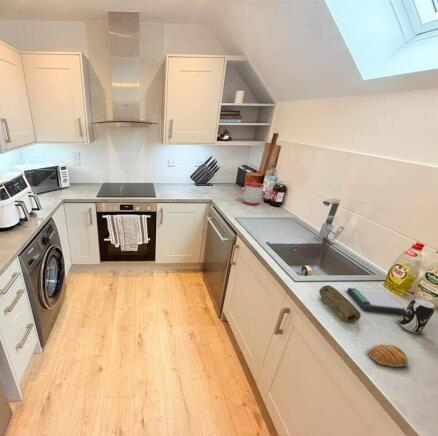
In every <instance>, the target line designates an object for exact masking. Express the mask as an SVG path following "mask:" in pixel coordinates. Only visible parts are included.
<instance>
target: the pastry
mask: <svg viewBox="0 0 438 436" xmlns="http://www.w3.org/2000/svg"><path fill="white" fill-rule="evenodd" d="M368 355H369V357H370V358H371V359H372V360H373V361H375V362H376V363H378V364H379V365H383V366H388V367H391V368H394V367H395V368H398V367H405V366H408V365H410V363H409V359H408V357H407V353H406V352H405V351H404V350H403V349H401V348H400V347H398V346H396V345H394V344H379V345H375V346H374V347H373V348H372V349H371V350H369V354H368Z"/></svg>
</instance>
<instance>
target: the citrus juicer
mask: <svg viewBox="0 0 438 436" xmlns="http://www.w3.org/2000/svg"><path fill="white" fill-rule="evenodd" d="M264 188H265V185H264V184H263V183H259V182H257V181H256V180H254V181H251V182H250V181H249V182H248V181H247V182H245V183H244V186H242V188H241V191H243V193H242V198H243V199H242V200H243V203H244V204H246V205H249V206H257V205H259V203H260V201H261V200H262V197H263V192H264Z"/></svg>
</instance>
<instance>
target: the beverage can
mask: <svg viewBox="0 0 438 436" xmlns="http://www.w3.org/2000/svg"><path fill="white" fill-rule="evenodd" d="M435 311H436V309H435V305H434V304H433V303H432V302H431V301H429V300H427V299H425V298H421V297H420V298H419V297H416V298H415V299H412V300H411V301H410V302H409V303H408V304H407V306H406V309H405V312H404V314H403V315H401V317H400V319H399V321H398V323H399V325H400V326H401V327H402V328H403V329H404V330H406V331H408V332H411V333H415V334H420V333H422V331H423V330H424V329H425V327H426V325H427V324H428V322H430V321H429V320H430V319H431V318H432V316H433V315H434V314H435Z"/></svg>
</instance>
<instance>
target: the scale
mask: <svg viewBox="0 0 438 436" xmlns="http://www.w3.org/2000/svg"><path fill="white" fill-rule="evenodd" d="M346 293H347V294H348V295H349V297H351V299H352V300H353V301H354V302H355V303H356V304H357V305H358V307H360V308H361V310H362V311H364V312H372V313H380V314H381V313H382V314H391V315H398V316H403V314H404V312H405V310H406V309H405V308H404V306H402V305H401V304H400V303H399V302H398V301H397V300H396V299H394V298H393V296H392V295H390V294H389V293H388V292H387V291H386V290H382V289H370V288H361V287H355V288H354V287H353V288H352V287H348V288H347V291H346Z"/></svg>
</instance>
